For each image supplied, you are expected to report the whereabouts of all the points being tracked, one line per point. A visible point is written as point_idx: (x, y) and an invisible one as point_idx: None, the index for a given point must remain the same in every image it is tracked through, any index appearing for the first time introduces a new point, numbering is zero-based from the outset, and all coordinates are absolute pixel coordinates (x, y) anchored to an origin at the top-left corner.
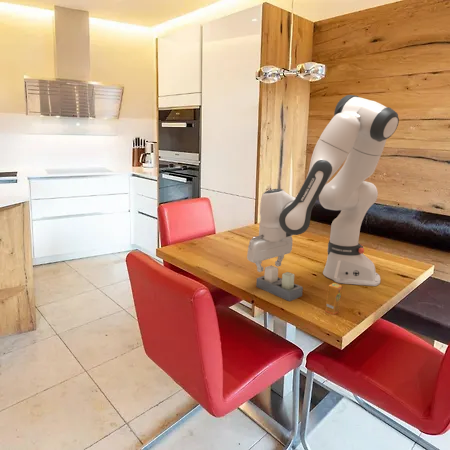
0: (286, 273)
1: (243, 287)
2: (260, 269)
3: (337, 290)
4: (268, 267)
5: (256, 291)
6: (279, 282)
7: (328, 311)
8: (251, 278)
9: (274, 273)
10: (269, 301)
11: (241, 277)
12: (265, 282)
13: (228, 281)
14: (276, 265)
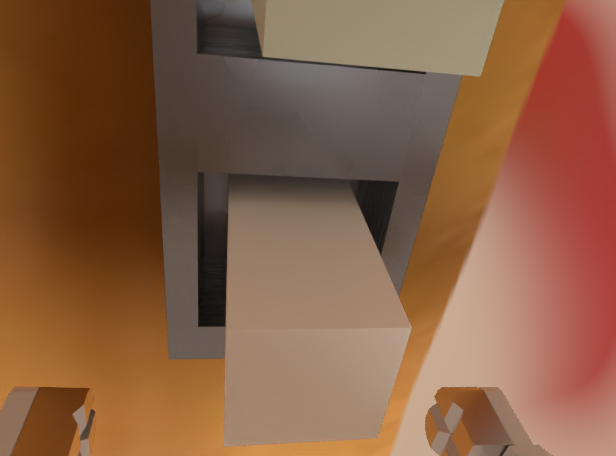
0: (397, 8)
1: (413, 339)
2: (516, 419)
3: None
4: (341, 416)
5: (417, 237)
6: (306, 118)
7: None
8: (220, 406)
9: (320, 272)
10: (562, 4)
11: (265, 445)
12: (409, 242)
13: (389, 441)
14: (91, 419)
